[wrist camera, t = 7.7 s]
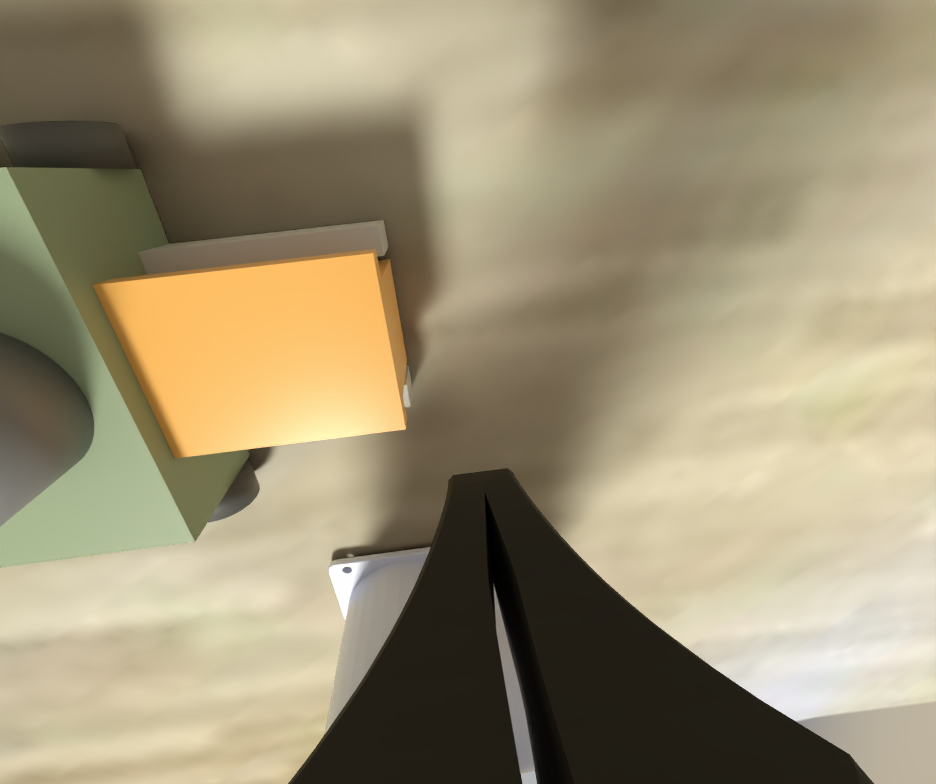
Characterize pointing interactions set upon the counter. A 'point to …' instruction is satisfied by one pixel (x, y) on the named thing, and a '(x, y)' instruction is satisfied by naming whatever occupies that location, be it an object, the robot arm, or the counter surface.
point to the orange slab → (264, 350)
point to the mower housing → (103, 352)
